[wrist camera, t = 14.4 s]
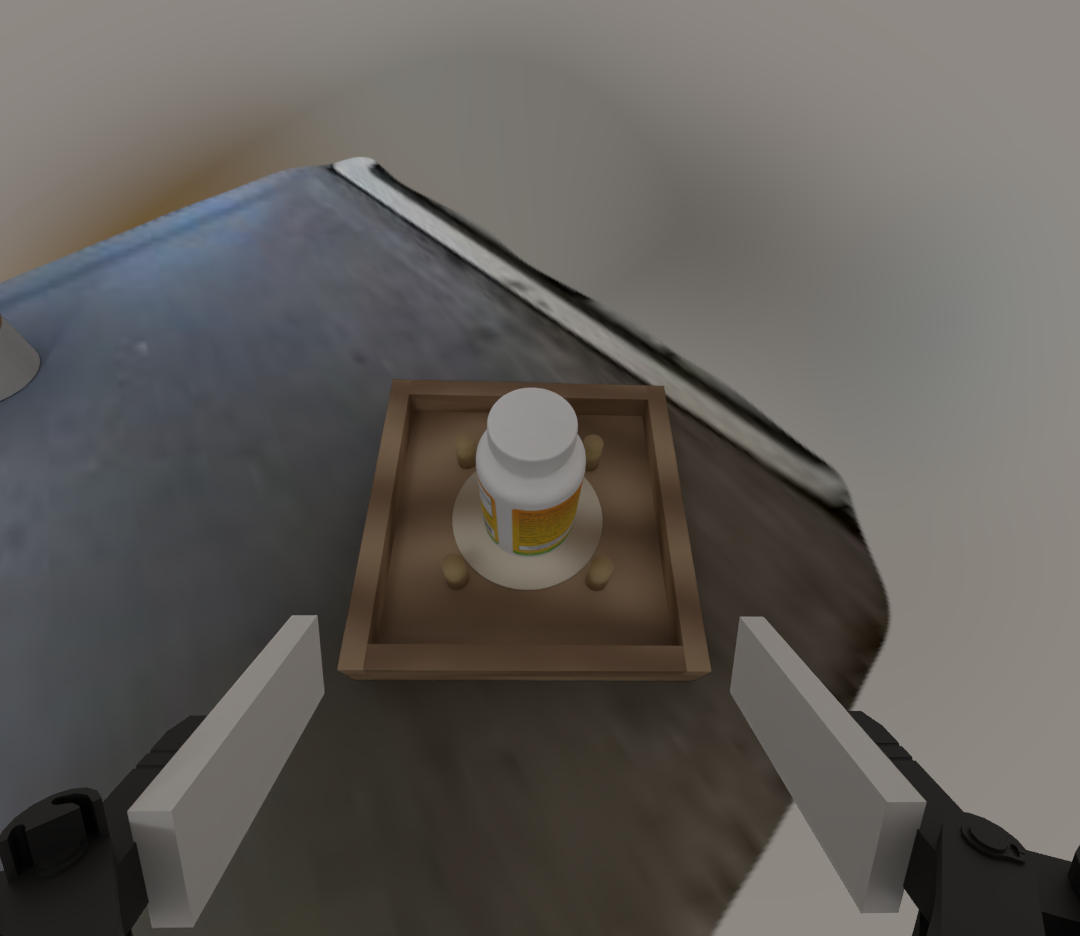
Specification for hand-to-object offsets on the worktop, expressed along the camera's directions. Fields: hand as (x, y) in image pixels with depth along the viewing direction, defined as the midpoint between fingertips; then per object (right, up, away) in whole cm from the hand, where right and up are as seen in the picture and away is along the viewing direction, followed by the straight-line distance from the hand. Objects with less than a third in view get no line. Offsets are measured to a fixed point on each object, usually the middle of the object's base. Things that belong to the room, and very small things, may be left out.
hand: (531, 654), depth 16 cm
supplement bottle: (0, +3, +15) cm, 15 cm away
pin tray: (0, +2, +16) cm, 16 cm away
